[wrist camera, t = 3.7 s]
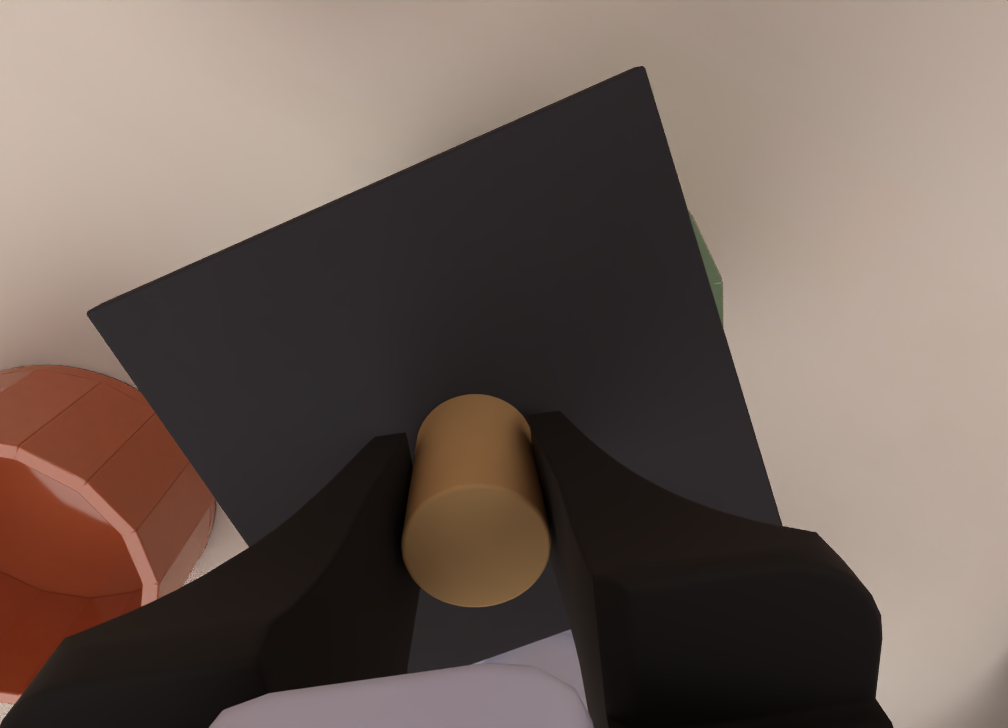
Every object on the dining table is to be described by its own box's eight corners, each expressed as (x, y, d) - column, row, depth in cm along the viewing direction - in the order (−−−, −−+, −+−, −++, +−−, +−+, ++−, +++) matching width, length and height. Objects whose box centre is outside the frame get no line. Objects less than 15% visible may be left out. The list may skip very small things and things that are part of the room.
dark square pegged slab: (779, 536, 16) (876, 672, 12) (362, 685, 17) (332, 852, 13) (636, 66, 12) (715, 50, 8) (100, 303, 13) (-52, 388, 9)
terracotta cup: (248, 575, 26) (199, 680, 21) (2, 611, 26) (-99, 723, 21) (165, 344, 22) (85, 409, 17) (-122, 387, 22) (-278, 462, 18)
